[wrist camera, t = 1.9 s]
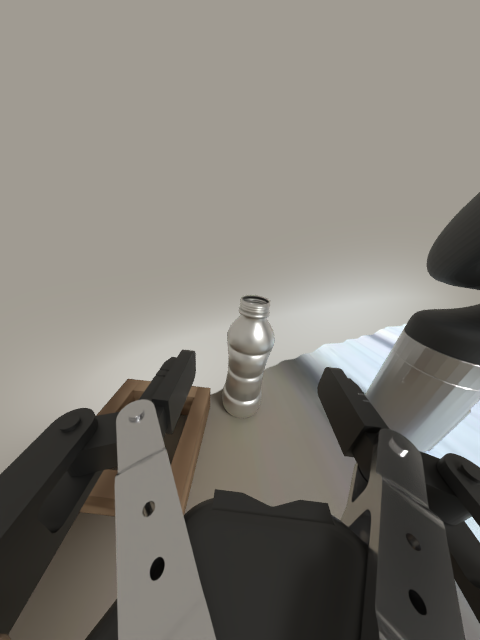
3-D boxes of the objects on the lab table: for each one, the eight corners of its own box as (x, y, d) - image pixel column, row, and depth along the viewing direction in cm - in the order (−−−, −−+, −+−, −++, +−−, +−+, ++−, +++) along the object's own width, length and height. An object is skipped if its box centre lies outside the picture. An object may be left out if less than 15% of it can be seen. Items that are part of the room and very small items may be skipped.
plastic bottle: (228, 387, 34) (237, 288, 25) (262, 397, 32) (284, 297, 23) (215, 416, 28) (220, 302, 19) (255, 430, 27) (280, 314, 18)
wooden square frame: (210, 406, 30) (210, 388, 28) (181, 524, 18) (178, 506, 16) (133, 397, 30) (127, 378, 28) (52, 508, 18) (33, 488, 16)
